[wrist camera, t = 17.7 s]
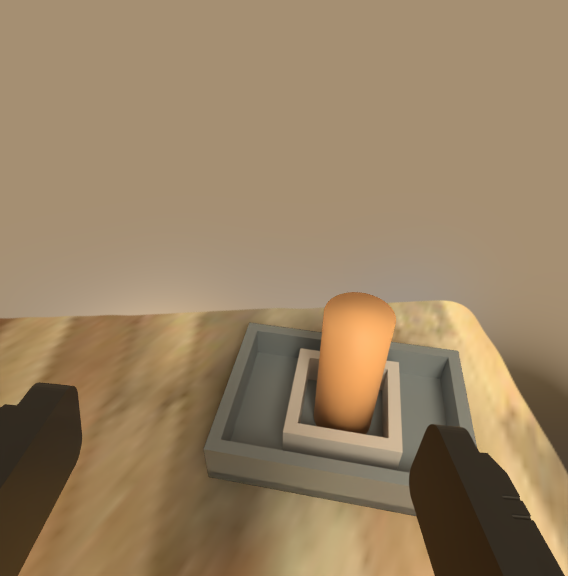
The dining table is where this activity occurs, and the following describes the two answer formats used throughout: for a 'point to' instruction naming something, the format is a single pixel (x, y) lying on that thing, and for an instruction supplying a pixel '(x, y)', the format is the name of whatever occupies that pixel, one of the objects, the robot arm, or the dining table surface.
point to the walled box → (323, 441)
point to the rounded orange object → (352, 360)
